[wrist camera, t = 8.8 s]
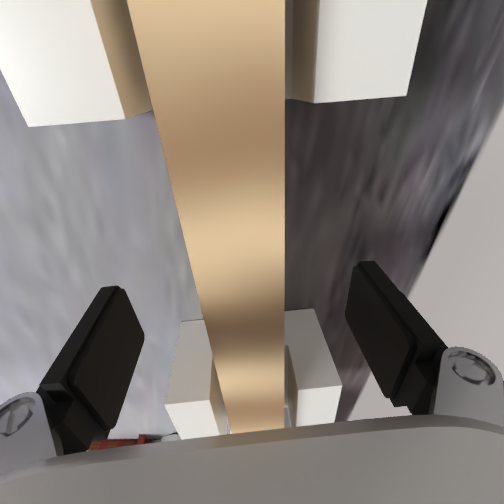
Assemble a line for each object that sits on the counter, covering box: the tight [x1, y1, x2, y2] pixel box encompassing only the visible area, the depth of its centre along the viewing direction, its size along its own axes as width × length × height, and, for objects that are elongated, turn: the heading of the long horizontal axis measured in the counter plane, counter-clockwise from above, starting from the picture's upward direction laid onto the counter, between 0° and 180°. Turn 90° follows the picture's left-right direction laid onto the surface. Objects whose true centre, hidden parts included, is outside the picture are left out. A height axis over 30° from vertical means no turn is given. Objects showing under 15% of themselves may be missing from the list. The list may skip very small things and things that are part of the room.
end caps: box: [0, 0, 427, 440], centre depth 13 cm, size 30×10×6 cm, turn 4°
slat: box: [127, 0, 285, 434], centre depth 12 cm, size 28×3×4 cm, turn 4°
